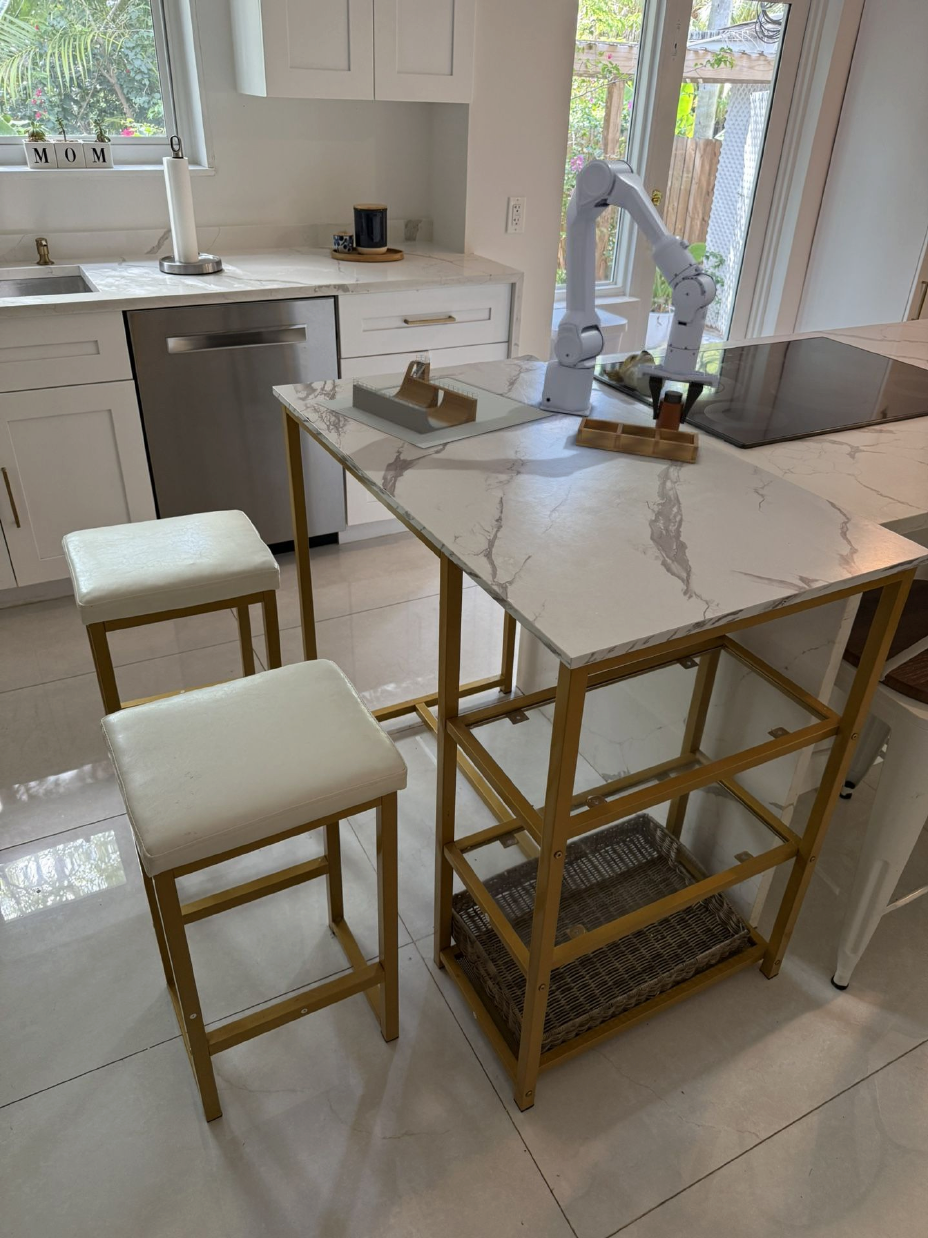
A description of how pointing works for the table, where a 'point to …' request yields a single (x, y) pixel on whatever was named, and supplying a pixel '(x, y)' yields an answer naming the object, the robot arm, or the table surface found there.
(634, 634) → the table surface
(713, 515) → the table surface
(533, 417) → the skate ramp
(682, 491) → the table surface
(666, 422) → the spice bottle
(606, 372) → the ceramic sculpture
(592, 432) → the spice tray
